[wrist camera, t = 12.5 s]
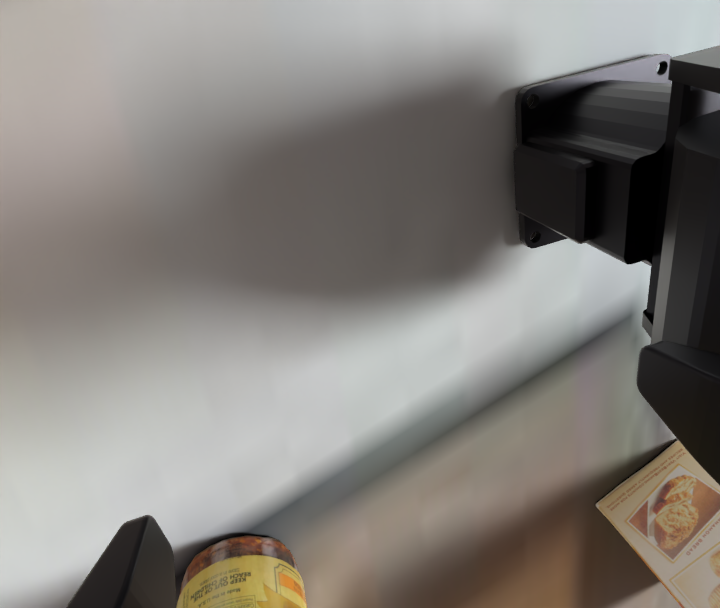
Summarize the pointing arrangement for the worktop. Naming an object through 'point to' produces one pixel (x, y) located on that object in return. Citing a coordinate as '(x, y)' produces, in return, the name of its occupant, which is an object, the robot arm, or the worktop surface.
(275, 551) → the sauce bottle
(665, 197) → the robot arm
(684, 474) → the coffeecake box
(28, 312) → the worktop surface
